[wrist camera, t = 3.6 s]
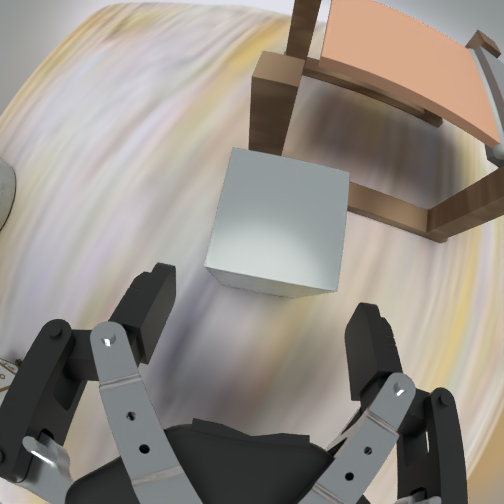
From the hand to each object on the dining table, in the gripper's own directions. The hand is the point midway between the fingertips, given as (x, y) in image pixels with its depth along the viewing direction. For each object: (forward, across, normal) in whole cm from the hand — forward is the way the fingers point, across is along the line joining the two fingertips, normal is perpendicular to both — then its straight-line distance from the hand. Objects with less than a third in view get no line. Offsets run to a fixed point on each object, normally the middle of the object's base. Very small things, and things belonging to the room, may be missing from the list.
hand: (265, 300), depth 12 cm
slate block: (+5, 0, 0) cm, 5 cm away
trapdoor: (+10, -10, -12) cm, 18 cm away
